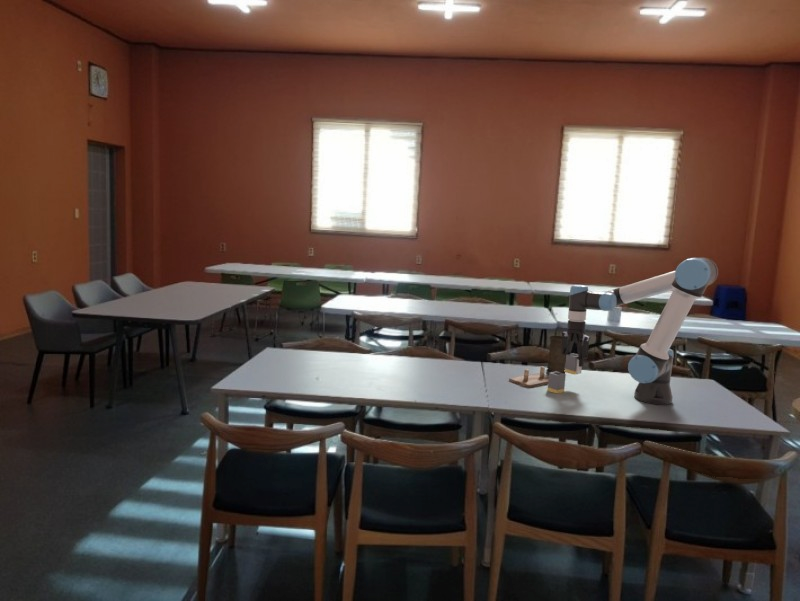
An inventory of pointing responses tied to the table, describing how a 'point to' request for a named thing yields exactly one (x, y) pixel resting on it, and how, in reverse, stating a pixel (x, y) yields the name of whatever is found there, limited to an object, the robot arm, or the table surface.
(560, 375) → the sleeve
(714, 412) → the table surface
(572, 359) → the sleeve
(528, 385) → the pin board
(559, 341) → the container
